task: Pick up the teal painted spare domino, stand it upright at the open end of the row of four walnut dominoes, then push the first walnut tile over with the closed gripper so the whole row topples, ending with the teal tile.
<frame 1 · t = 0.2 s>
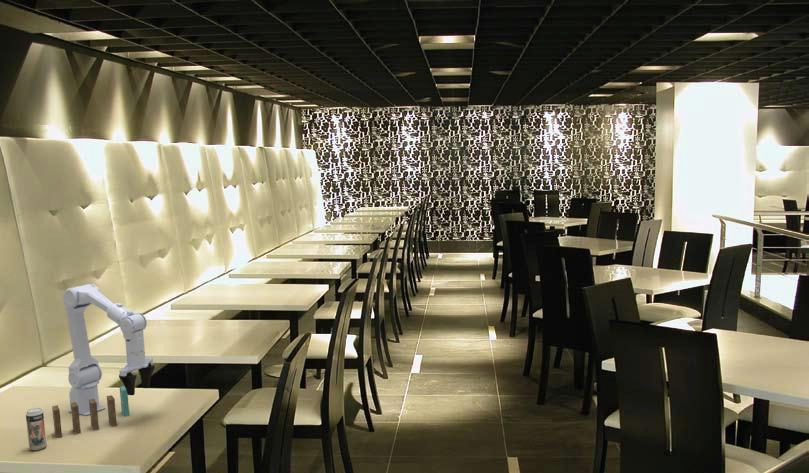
hand: (138, 391, 258), 10 cm above the table, fingers open, 7 cm apart
domino 1: (58, 435, 248), on the table
spare domino: (125, 414, 266), on the table
domino 4: (112, 424, 257), on the table
beer can: (38, 449, 238), on the table
domino 3: (95, 427, 254), on the table
domino 2: (76, 431, 251), on the table
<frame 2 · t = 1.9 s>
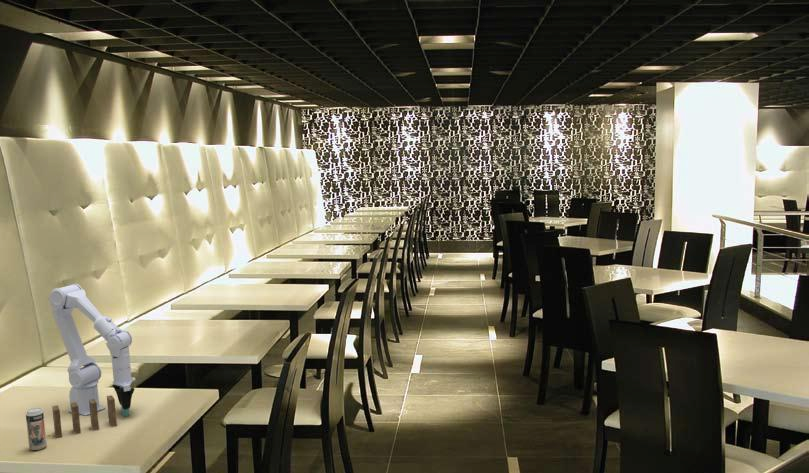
hand: (124, 406, 266), 3 cm above the table, fingers closed on spare domino, 5 cm apart
spare domino: (125, 413, 266), on the table, touching gripper
everything else where it was.
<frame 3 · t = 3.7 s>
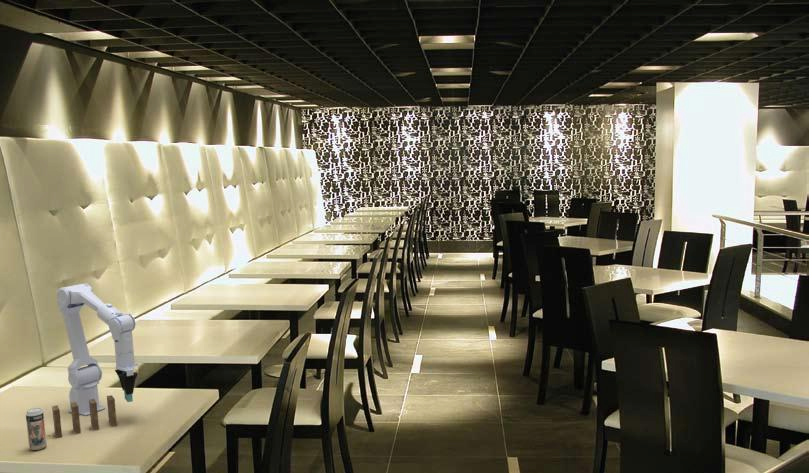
hand: (127, 392, 258), 10 cm above the table, fingers closed on spare domino, 5 cm apart
spare domino: (128, 399, 259), point 7 cm above the table, touching gripper
everything else where it was.
when the fingers open (3 cm above the table, at t = 5.3 s): spare domino stays where it is, on the table.
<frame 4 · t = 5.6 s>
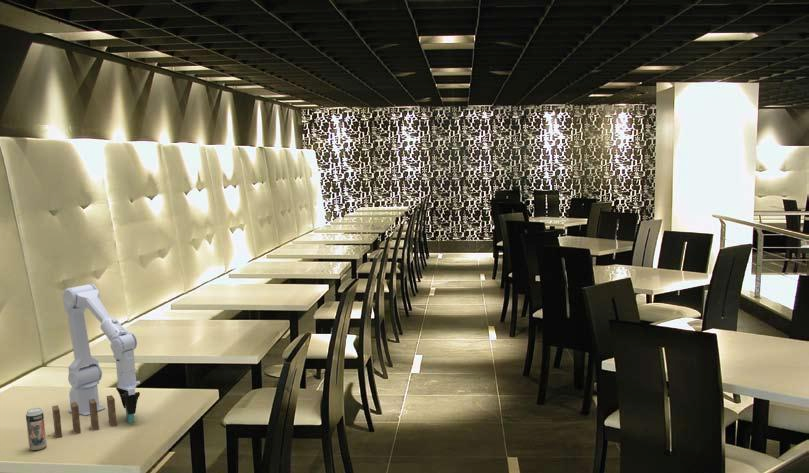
hand: (129, 410, 259), 3 cm above the table, fingers open, 7 cm apart
spare domino: (130, 420, 259), on the table
everything else where it was.
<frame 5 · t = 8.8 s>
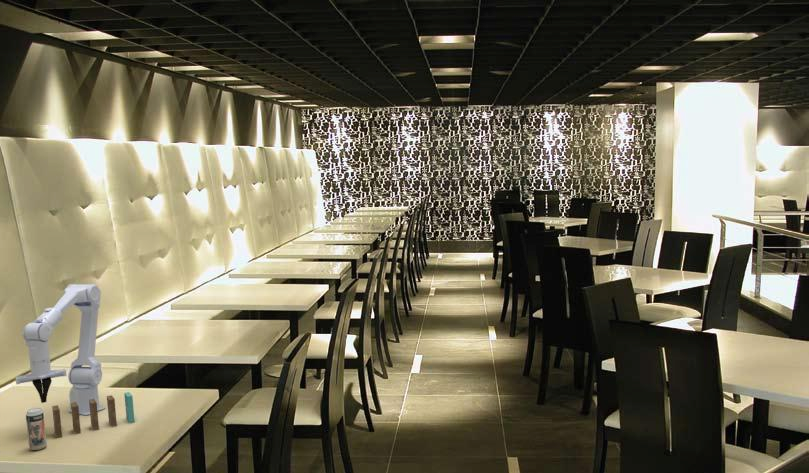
hand: (43, 401, 249), 10 cm above the table, fingers closed
nothing on the table moved.
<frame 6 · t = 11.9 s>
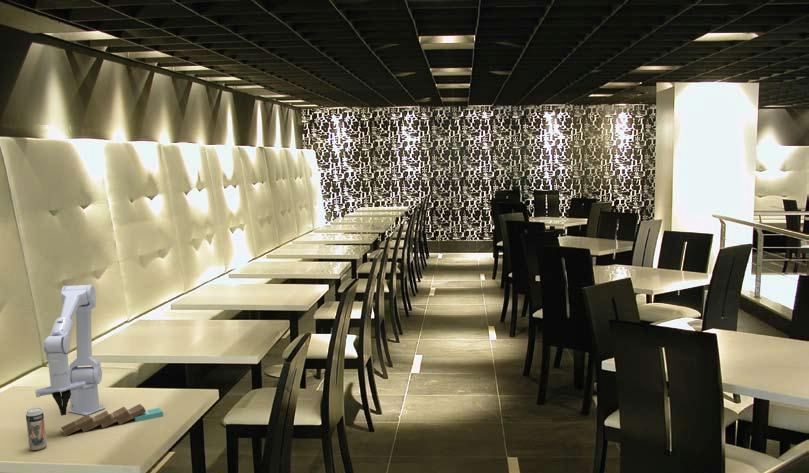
hand: (63, 414, 249), 6 cm above the table, fingers closed
domino 1: (62, 432, 249), point 1 cm above the table, tilted 73°, touching domino 2
spare domino: (133, 417, 260), point 1 cm above the table, tilted 90°, touching domino 4
domino 4: (116, 420, 257), point 1 cm above the table, tilted 74°, touching domino 3, spare domino
domino 3: (100, 424, 255), point 1 cm above the table, tilted 72°, touching domino 2, domino 4
domino 2: (81, 428, 252), point 1 cm above the table, tilted 73°, touching domino 1, domino 3
everything else where it was.
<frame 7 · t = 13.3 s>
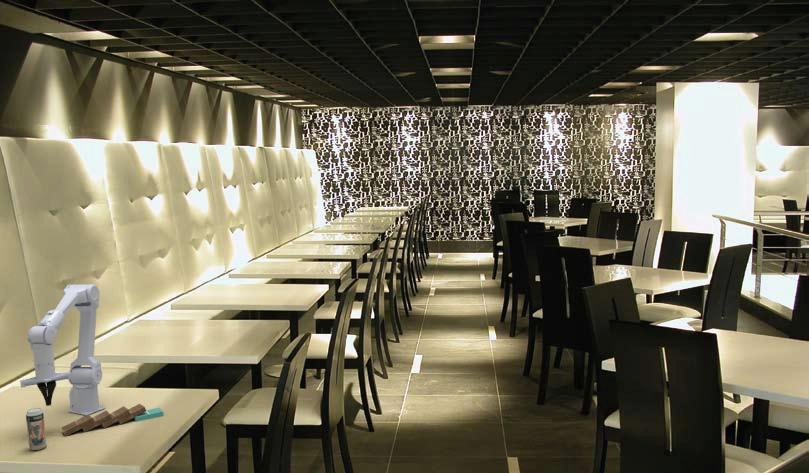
hand: (48, 404, 249), 9 cm above the table, fingers closed
spare domino: (134, 417, 260), point 1 cm above the table, tilted 90°
domino 4: (117, 420, 258), point 1 cm above the table, tilted 75°, touching domino 3
domino 3: (101, 424, 254), point 1 cm above the table, tilted 72°, touching domino 2, domino 4
everything else where it was.
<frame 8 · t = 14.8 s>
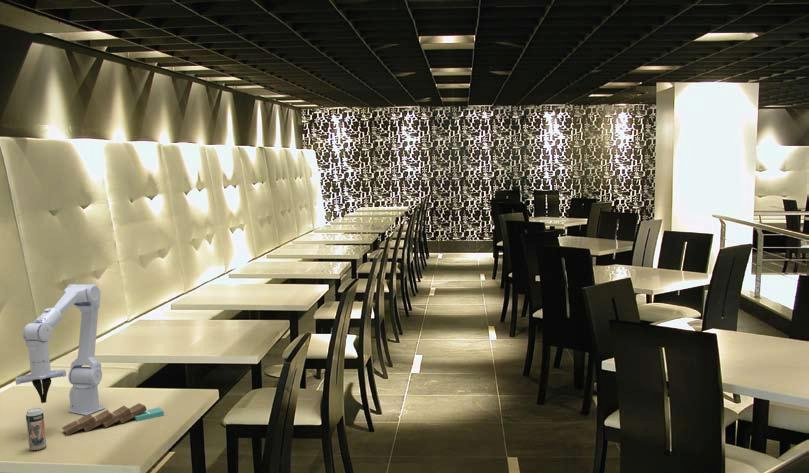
hand: (43, 402, 249), 10 cm above the table, fingers closed
domino 3: (102, 424, 255), point 1 cm above the table, tilted 72°, touching domino 4
domino 2: (83, 427, 252), point 1 cm above the table, tilted 72°, touching domino 1
at the end: spare domino tilted 89°; spare domino inside the target area (0.5 cm from its centre), point 0.6 cm above the table; domino 4 tilted 76° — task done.
